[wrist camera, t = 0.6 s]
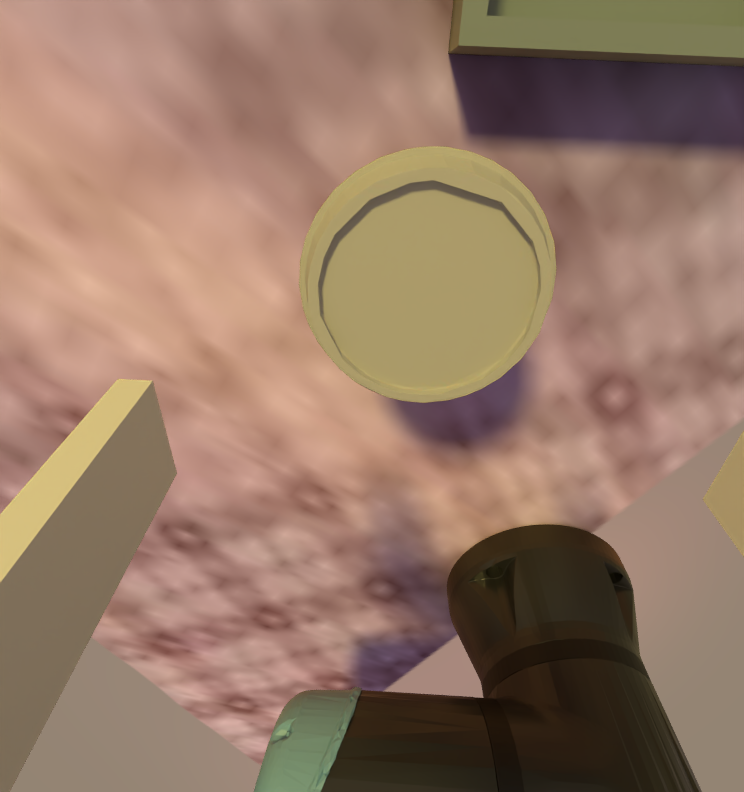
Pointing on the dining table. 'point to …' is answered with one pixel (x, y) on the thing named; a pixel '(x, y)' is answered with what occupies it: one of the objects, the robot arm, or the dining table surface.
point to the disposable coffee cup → (428, 274)
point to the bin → (602, 30)
